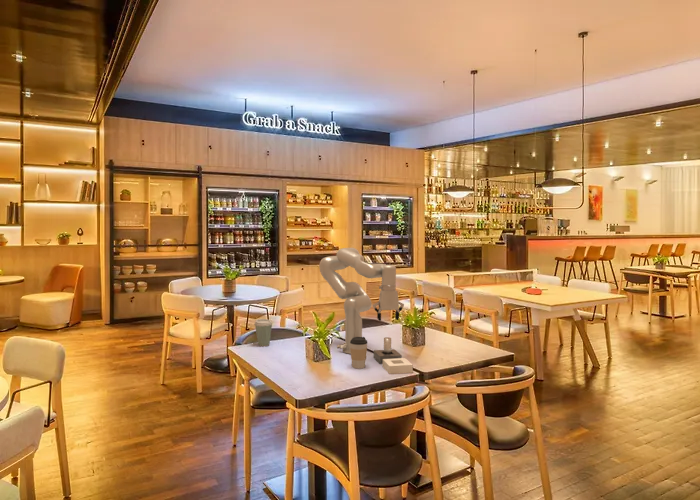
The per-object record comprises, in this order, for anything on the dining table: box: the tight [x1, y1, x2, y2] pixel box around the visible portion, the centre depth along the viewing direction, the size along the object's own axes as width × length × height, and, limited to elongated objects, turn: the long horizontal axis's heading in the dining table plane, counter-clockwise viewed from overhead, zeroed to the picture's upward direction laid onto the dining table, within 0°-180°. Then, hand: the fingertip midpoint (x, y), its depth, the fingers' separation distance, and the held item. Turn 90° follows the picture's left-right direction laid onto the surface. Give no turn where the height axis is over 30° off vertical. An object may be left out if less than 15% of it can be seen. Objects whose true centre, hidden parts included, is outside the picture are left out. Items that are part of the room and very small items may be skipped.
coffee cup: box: [350, 336, 368, 370], centre depth 251 cm, size 9×9×15 cm
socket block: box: [381, 357, 414, 375], centre depth 246 cm, size 12×12×4 cm
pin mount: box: [373, 348, 403, 365], centre depth 263 cm, size 12×12×4 cm
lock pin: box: [383, 336, 392, 354], centre depth 263 cm, size 4×4×12 cm
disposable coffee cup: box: [254, 318, 273, 347], centre depth 290 cm, size 11×11×15 cm
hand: (388, 319), depth 262 cm, fingers open, 9 cm apart
